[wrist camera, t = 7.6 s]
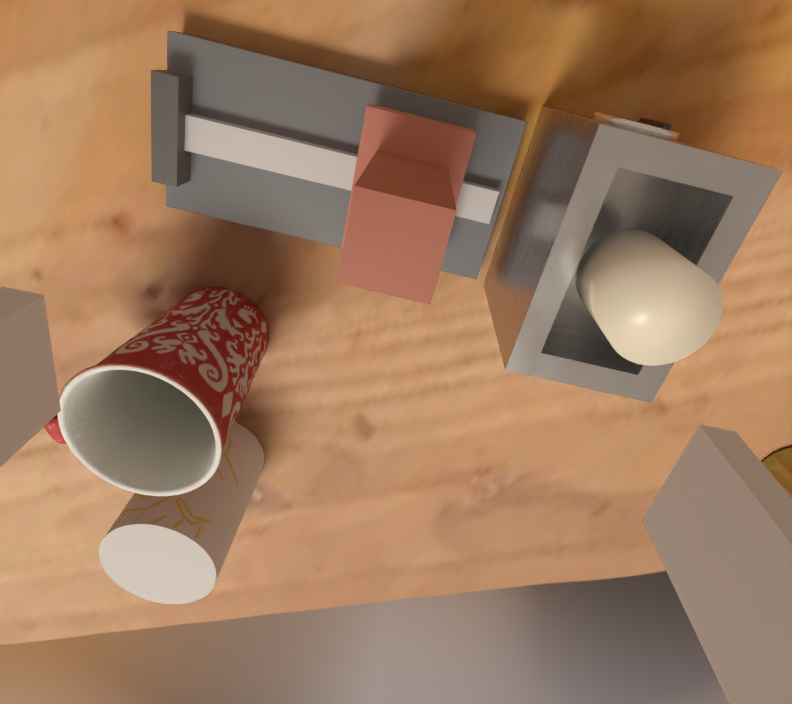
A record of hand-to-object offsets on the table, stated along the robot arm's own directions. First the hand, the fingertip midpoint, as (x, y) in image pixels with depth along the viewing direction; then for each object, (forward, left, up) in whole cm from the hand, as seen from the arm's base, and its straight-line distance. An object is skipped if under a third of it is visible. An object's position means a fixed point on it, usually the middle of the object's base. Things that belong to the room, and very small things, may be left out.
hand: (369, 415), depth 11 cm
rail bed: (-5, 0, -27) cm, 27 cm away
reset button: (+11, 0, -16) cm, 19 cm away
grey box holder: (+11, 0, -27) cm, 29 cm away
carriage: (0, 0, -23) cm, 23 cm away
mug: (-13, -15, -27) cm, 33 cm away
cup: (-11, -27, -27) cm, 40 cm away
